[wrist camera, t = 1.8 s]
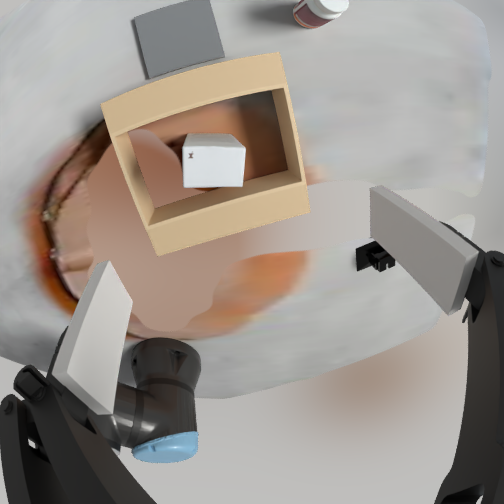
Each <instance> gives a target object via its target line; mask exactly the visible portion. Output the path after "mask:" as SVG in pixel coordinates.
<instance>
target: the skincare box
mask: <svg viewBox="0 0 504 504" xmlns="http://www.w3.org/2000/svg"><path fill="white" fill-rule="evenodd" d="M245 153H246V148H245V147H244V146H243V145H242V144H241V143H240V142H239V141H238V140H237V139H236V138H235V137H234V136H233V135H232V134H221V133H188V134H187V137H186V139H185V142H184V145H183V147H182V165H183V187H185V188H197V187H242V186H243V176H244V165H245Z"/></svg>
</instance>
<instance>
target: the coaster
mask: <svg viewBox="0 0 504 504" xmlns="http://www.w3.org/2000/svg"><path fill="white" fill-rule="evenodd" d="M134 20H135V24H136V28H137V32H138V36H139V40H140V44H141V48H142V52H143V56H144V60H145V64H146V68H147V71H148V75H149V78H150V79H151V78H153V77H156V76H159V75H162V74H165V73H168V72H171V71H174V70H177V69H181V68H184V67H187V66H191V65H195V64H198V63H202V62H206V61H210V60H214V59H218V58H223V57H225V55H224V51H223V47H222V44H221V40H220V36H219V33H218V29H217V25H216V22H215V18H214V14H213V11H212V7H211V4H210V0H189V1H185V2H181V3H177V4H174V5H170V6H167V7H163V8H160V9H157V10H154V11H151V12H148V13H145V14H142V15H140V16H137V17H134Z"/></svg>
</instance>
